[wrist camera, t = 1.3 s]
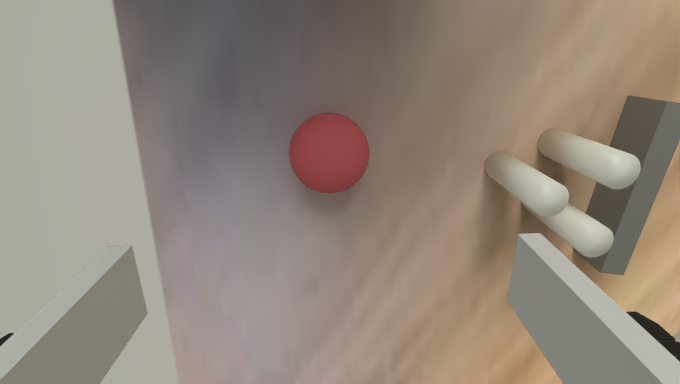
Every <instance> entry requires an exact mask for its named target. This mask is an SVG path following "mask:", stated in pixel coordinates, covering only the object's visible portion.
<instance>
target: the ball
mask: <svg viewBox="0 0 680 384" xmlns="http://www.w3.org/2000/svg"><path fill="white" fill-rule="evenodd" d="M289 154H290V162H291V166H292V168H293V171H294V173H295V174H296V176H297V177H298V178H299V180H300V181H301V182H302V183H303V184H305V185H306V186H307V187H309V188H311V189H313V190H315V191H318V192H323V193H336V192H340V191H343V190H346V189H348V188H350V187H351V186H353V185H354V184H355V183H356V182H357V181H358V180H359V179H360V178H361V176H362V175H363V173H364V171H365V169H366V167H367V164H368V159H369V148H368V143H367V140H366V137H365V135H364V133H363V132H362V130H361V129H360V128H359V127H358V125H357V124H356V123H354V122H353V121H352V120H350V119H349V118H347V117H345V116H342V115H339V114H333V113H326V114H320V115H316V116H314V117H311V118H310V119H308V120H306V121H305V122H304V123H303V124H302V125H301V126H300V127H299V128H298V129H297V130H296V132H295V134H294V135H293V138H292V140H291V144H290V151H289Z"/></svg>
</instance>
